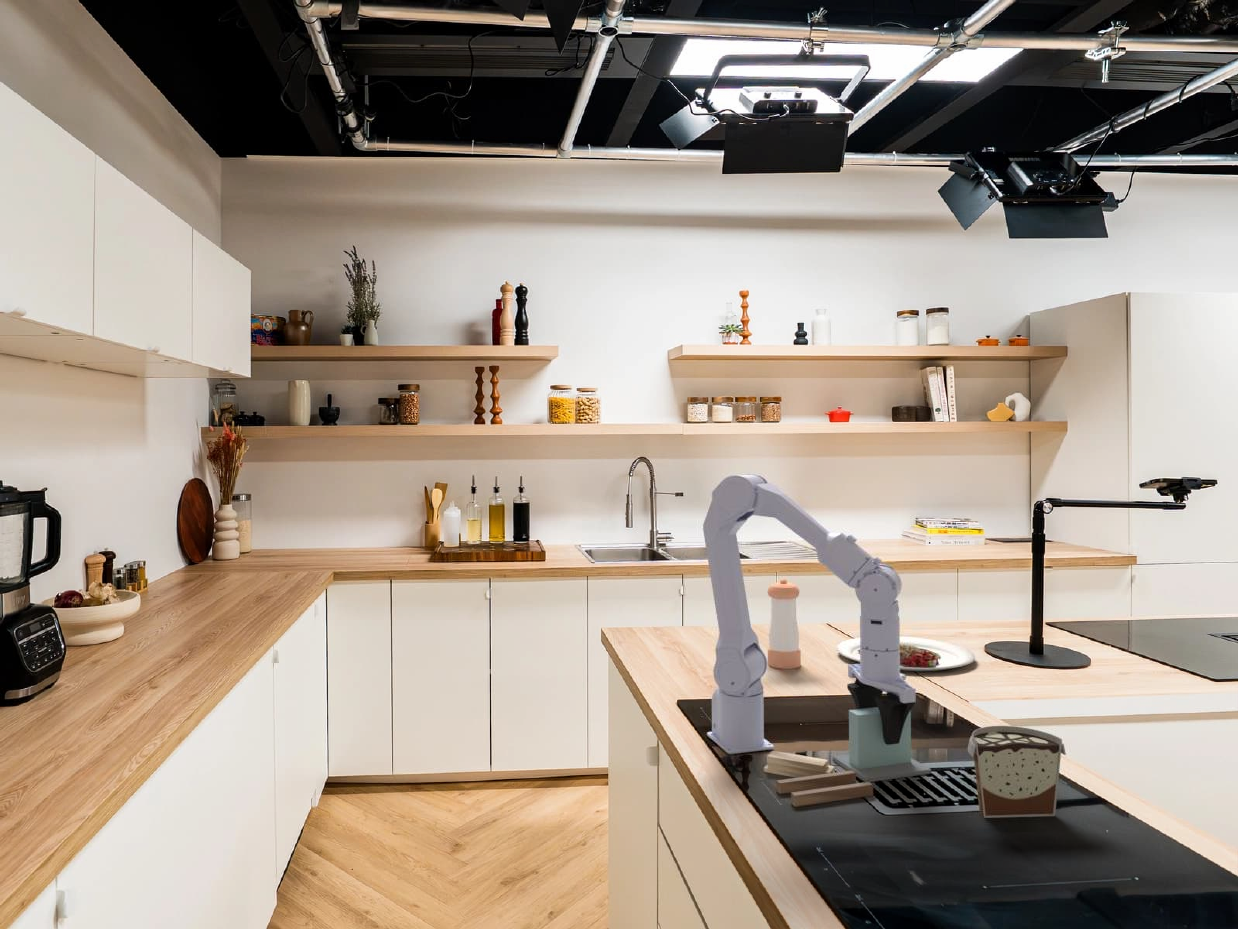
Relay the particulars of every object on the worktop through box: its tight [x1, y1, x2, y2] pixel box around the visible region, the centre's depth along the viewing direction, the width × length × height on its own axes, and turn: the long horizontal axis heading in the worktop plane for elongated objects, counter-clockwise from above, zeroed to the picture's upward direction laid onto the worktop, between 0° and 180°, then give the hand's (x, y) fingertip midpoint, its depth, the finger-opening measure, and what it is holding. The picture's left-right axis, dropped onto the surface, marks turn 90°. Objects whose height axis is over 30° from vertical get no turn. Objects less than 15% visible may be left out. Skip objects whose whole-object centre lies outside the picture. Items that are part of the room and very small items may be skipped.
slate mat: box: [832, 753, 932, 783], centre depth 122 cm, size 9×11×1 cm
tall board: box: [848, 707, 912, 769], centre depth 122 cm, size 2×9×8 cm, turn 106°
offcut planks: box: [763, 750, 836, 778], centre depth 120 cm, size 3×10×3 cm, turn 62°
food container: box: [967, 725, 1067, 819], centre depth 108 cm, size 12×6×10 cm, turn 92°
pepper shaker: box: [767, 578, 802, 670], centre depth 182 cm, size 7×7×19 cm
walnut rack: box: [776, 770, 874, 807], centre depth 113 cm, size 5×12×2 cm, turn 106°
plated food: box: [836, 636, 976, 672], centre depth 187 cm, size 30×30×3 cm
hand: (880, 737), depth 122 cm, fingers open, 5 cm apart
